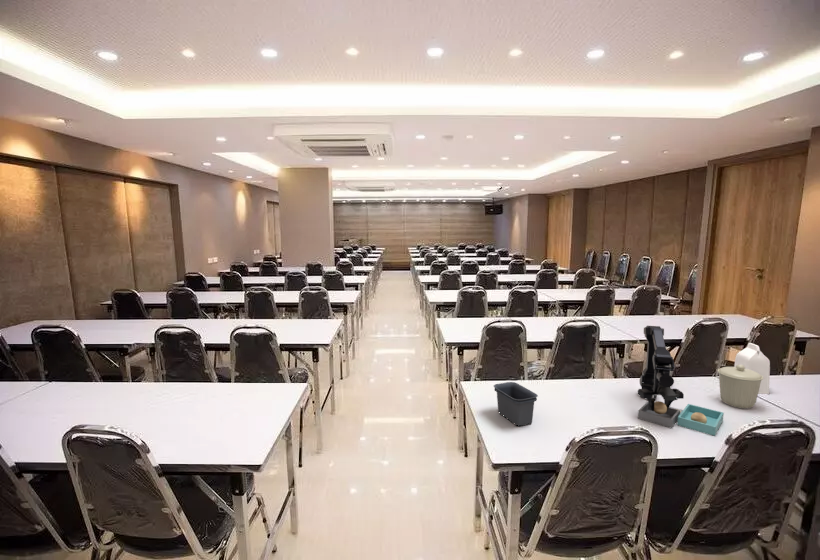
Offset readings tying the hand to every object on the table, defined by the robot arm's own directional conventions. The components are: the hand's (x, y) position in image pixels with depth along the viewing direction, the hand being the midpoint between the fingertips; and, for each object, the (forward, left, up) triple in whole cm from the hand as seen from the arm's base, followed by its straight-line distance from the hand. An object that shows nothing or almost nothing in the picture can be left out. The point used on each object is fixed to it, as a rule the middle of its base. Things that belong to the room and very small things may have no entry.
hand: (659, 410), depth 191 cm
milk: (+26, +74, -4) cm, 79 cm away
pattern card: (+2, +14, -4) cm, 15 cm away
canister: (+24, +45, -4) cm, 51 cm away
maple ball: (0, 0, +2) cm, 2 cm away
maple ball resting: (+15, +4, 0) cm, 15 cm away
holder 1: (0, 0, -4) cm, 4 cm away
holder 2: (+15, +8, -4) cm, 17 cm away
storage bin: (-49, -47, -4) cm, 68 cm away
